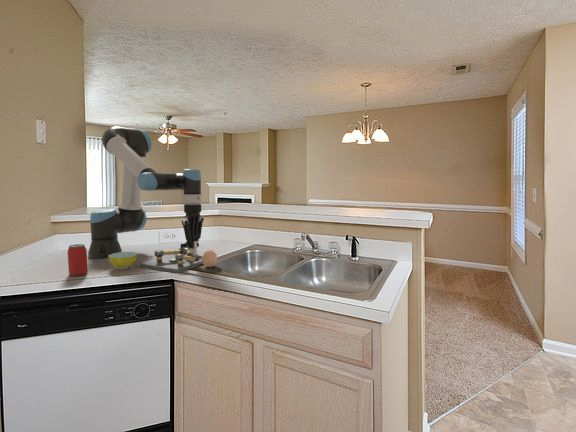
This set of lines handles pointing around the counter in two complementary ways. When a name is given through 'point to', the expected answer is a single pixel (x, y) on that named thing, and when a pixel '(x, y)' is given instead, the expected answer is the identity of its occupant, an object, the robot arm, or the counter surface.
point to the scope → (187, 245)
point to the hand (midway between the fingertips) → (193, 254)
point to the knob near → (165, 253)
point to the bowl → (122, 259)
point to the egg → (209, 258)
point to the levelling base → (170, 264)
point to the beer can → (77, 260)
